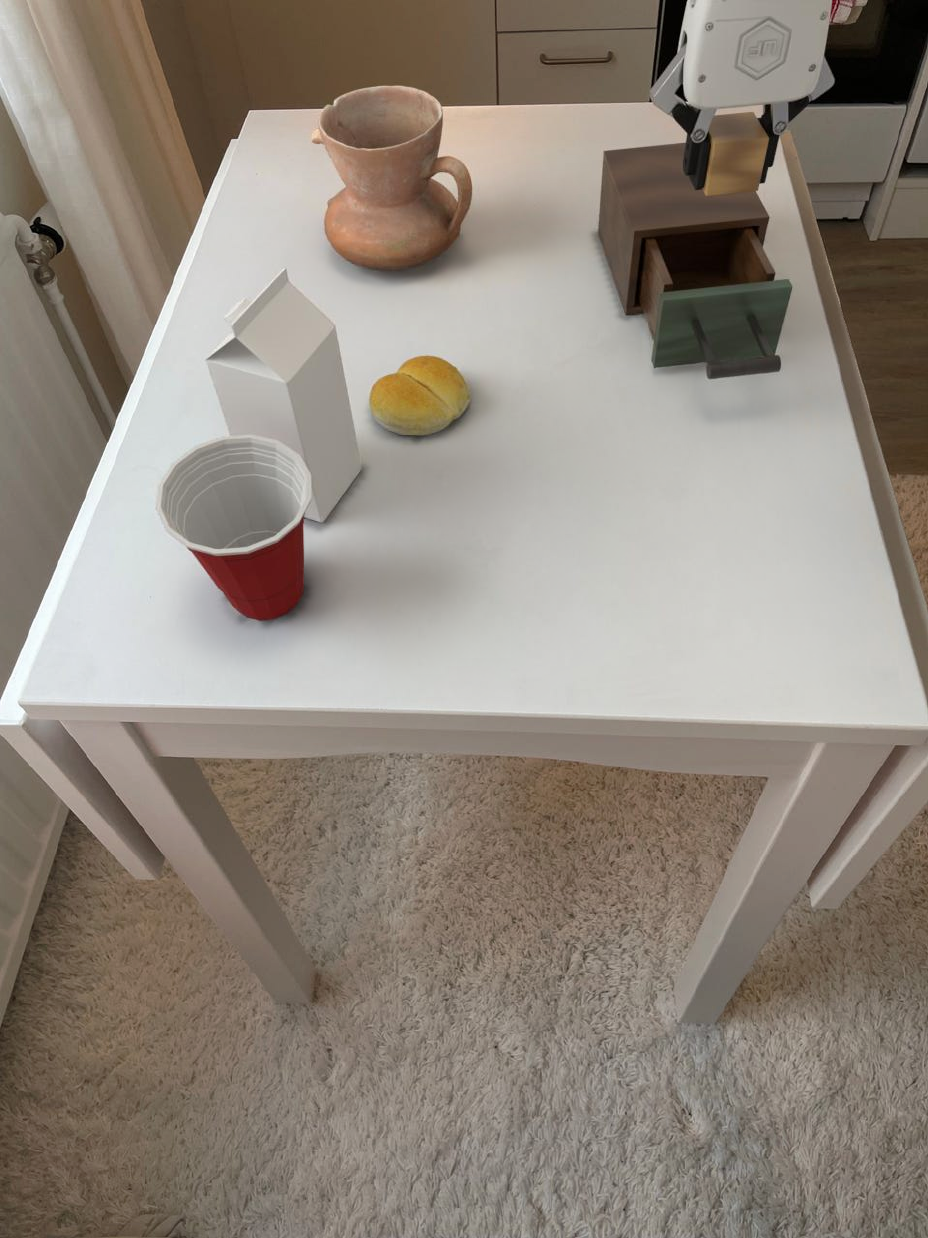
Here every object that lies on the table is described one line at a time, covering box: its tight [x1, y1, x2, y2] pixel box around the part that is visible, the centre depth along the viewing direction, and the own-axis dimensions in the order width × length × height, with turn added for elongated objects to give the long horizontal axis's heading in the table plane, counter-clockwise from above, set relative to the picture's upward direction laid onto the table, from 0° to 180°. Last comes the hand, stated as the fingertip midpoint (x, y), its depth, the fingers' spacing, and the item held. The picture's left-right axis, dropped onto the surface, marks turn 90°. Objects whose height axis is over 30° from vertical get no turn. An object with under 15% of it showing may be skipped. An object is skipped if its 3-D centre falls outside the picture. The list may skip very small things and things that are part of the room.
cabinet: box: [597, 142, 771, 316], centre depth 95 cm, size 15×13×9 cm
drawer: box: [636, 226, 794, 380], centre depth 87 cm, size 21×11×7 cm, turn 6°
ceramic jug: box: [310, 85, 473, 271], centre depth 98 cm, size 18×14×14 cm
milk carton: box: [205, 267, 362, 523], centre depth 75 cm, size 7×7×19 cm
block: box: [702, 111, 769, 196], centre depth 78 cm, size 4×4×4 cm
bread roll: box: [369, 355, 472, 436], centre depth 86 cm, size 8×9×4 cm
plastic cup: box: [155, 435, 311, 621], centre depth 71 cm, size 11×11×12 cm
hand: (725, 175), depth 80 cm, fingers closed on block, 4 cm apart
